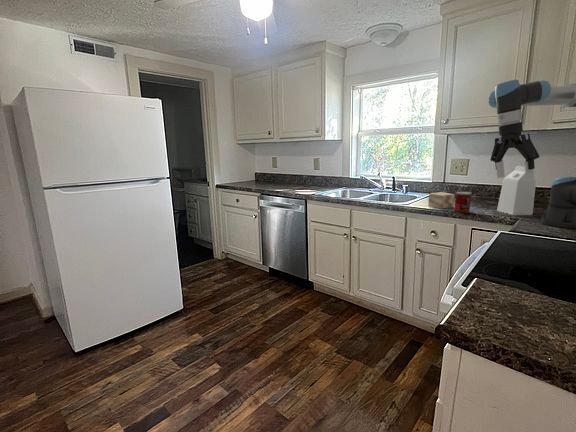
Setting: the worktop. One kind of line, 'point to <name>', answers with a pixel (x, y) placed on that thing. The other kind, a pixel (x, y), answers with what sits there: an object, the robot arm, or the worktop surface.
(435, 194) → the maple brick
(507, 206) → the milk
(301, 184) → the worktop surface
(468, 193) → the canned food
